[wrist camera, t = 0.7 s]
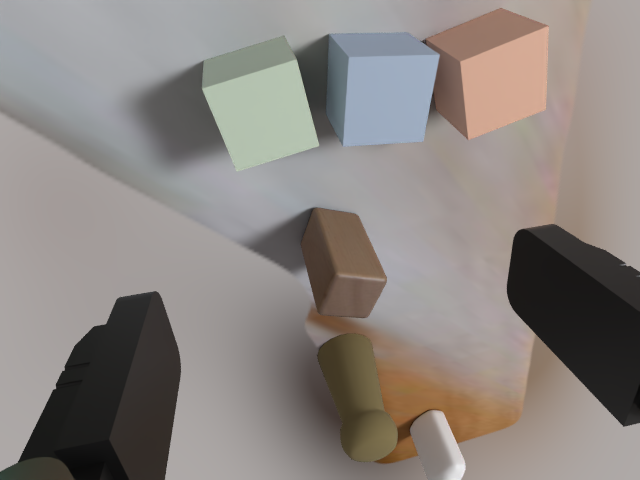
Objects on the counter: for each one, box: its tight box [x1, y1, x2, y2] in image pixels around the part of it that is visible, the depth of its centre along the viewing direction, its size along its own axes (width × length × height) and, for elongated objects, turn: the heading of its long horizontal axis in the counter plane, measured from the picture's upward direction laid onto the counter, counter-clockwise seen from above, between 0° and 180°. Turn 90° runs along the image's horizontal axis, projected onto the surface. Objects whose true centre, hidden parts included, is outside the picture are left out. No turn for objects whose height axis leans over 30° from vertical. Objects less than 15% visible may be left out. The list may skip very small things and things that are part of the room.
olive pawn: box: [317, 334, 398, 462], centre depth 41 cm, size 6×6×11 cm
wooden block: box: [301, 208, 387, 318], centre depth 32 cm, size 4×4×8 cm
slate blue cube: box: [326, 32, 440, 147], centre depth 26 cm, size 5×5×5 cm
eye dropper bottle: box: [410, 410, 466, 480], centre depth 54 cm, size 4×6×12 cm
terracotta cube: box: [426, 8, 549, 140], centre depth 27 cm, size 5×5×5 cm
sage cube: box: [202, 36, 319, 172], centre depth 25 cm, size 5×5×5 cm
